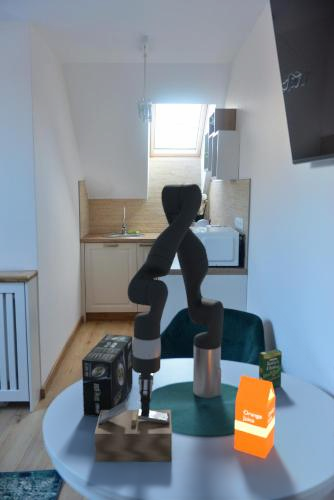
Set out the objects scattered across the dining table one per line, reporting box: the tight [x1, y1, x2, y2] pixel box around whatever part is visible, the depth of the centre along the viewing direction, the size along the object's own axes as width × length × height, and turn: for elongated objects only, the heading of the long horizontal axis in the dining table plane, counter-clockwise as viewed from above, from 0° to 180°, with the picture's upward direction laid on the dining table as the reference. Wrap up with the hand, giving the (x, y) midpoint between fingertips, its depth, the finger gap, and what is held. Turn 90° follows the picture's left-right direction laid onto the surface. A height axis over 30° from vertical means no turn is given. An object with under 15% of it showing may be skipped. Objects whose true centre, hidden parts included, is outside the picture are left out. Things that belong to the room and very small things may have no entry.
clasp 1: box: [97, 400, 129, 425], centre depth 120 cm, size 8×4×1 cm, turn 89°
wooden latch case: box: [94, 409, 173, 463], centre depth 121 cm, size 20×12×10 cm, turn 91°
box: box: [81, 333, 134, 417], centre depth 148 cm, size 23×10×19 cm, turn 168°
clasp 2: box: [138, 408, 170, 425], centre depth 121 cm, size 9×4×1 cm, turn 91°
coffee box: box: [258, 348, 283, 388], centre depth 158 cm, size 8×3×13 cm, turn 112°
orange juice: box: [233, 374, 276, 459], centre depth 121 cm, size 8×9×20 cm
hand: (145, 413), depth 120 cm, fingers closed
